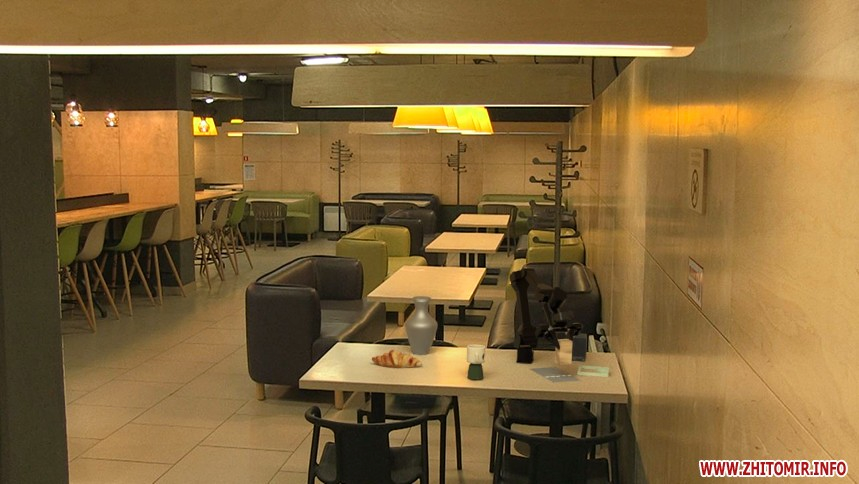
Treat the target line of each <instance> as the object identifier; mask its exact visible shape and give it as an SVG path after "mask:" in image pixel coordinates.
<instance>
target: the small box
mask: <svg viewBox="0 0 859 484" xmlns="http://www.w3.org/2000/svg"><path fill="white" fill-rule="evenodd" d="M587 338H588V335H587V333H582V332H580V333H579V335H578V336H573V347H572V361H575V362H586V358H587V357H586V356H587V348H588V346H587V345H588V344H587V343H588V339H587Z"/></svg>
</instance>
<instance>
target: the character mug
mask: <svg viewBox="0 0 859 484" xmlns="http://www.w3.org/2000/svg"><path fill="white" fill-rule="evenodd" d="M485 362H486V346H485V345H483V344H468V345H467V346H466V363H469V365H468V370H467V379H474V380H475V381H476V380H483V379H484V368H483V365H482V364H484V363H485Z"/></svg>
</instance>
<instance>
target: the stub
mask: <svg viewBox="0 0 859 484" xmlns="http://www.w3.org/2000/svg"><path fill="white" fill-rule="evenodd" d="M557 340H558V342H559V345H560V349H557V348H556V347H555V351H554V352H555V354H554V355H555V357H554V363H556V364H557V365H559V366H562V365H571V364H572V361H573V360H572V341H571V340H569V339H565V338H563V339H562V338H561V339H558V338H557Z"/></svg>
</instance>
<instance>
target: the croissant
mask: <svg viewBox="0 0 859 484" xmlns="http://www.w3.org/2000/svg"><path fill="white" fill-rule="evenodd" d="M371 361H372V362H373V363H375V364H377V365H378V366H380V367H385V368H391V369H392V368H394V369H403V368H404V369H406V368H407V369H408V368H412V367H413V368H414V367H415V368H419V367H421V366H422V365H423V362H422V361H421V360H420V359H419V358H417V357H414V356H412V355H411V354H410V353H403V352H402V351H400V350H396V349H390V351H389V352H385V353H383V354H382V355H376V356H374V357H373V356H372V357H371Z"/></svg>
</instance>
